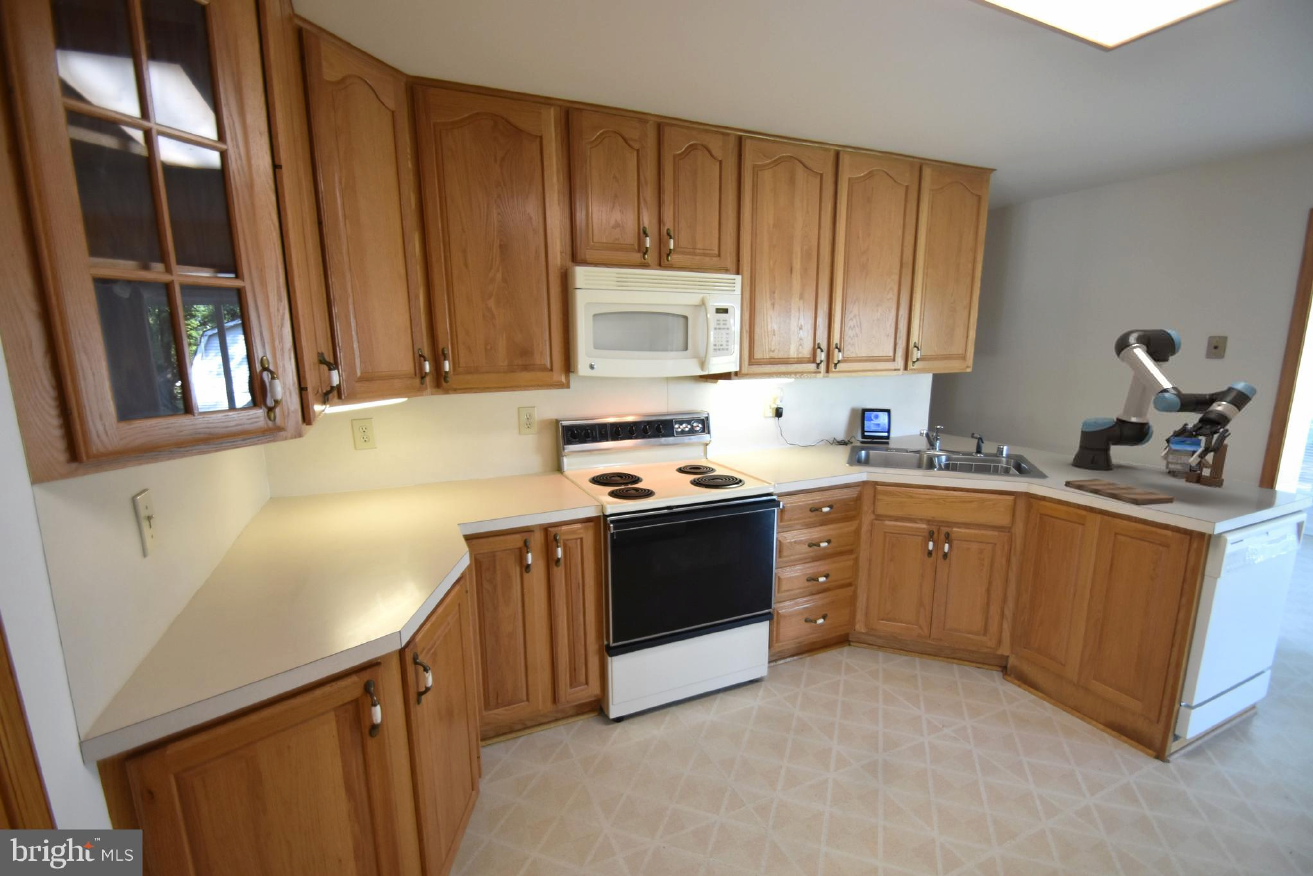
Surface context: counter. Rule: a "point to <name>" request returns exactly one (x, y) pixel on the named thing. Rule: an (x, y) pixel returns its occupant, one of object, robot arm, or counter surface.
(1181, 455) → the label tape box
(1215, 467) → the wooden block
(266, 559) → the counter surface
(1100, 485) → the walnut board
